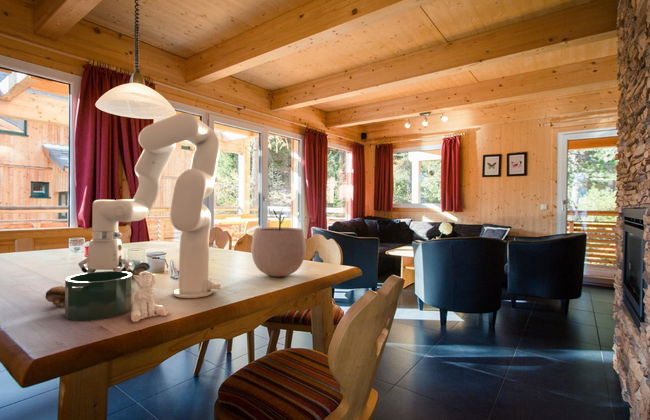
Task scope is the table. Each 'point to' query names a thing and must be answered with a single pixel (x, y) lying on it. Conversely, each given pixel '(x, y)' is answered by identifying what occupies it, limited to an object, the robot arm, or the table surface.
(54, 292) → the mushroom
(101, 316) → the pot
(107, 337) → the table surface
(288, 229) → the plant pot
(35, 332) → the table surface
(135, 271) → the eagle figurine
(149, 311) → the seated beast figurine
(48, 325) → the table surface
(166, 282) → the table surface
